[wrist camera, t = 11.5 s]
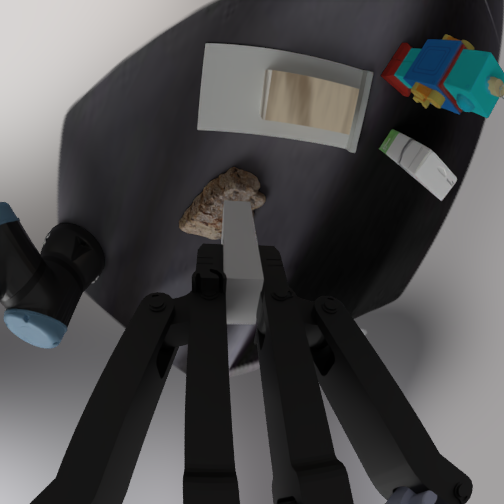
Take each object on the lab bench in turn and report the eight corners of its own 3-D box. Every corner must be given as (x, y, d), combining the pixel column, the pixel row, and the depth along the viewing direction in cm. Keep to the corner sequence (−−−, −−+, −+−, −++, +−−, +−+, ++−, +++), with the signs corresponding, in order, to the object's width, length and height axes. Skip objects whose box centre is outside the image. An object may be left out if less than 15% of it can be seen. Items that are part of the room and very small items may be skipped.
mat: (197, 129, 40) (195, 132, 38) (205, 43, 31) (204, 41, 30) (350, 149, 43) (355, 153, 41) (367, 72, 34) (373, 72, 33)
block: (262, 119, 34) (349, 134, 35) (270, 69, 29) (359, 89, 31) (259, 113, 38) (335, 125, 40) (265, 69, 34) (344, 85, 36)
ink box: (377, 148, 42) (412, 175, 33) (392, 127, 40) (431, 148, 31) (407, 173, 45) (442, 203, 36) (421, 153, 43) (459, 179, 33)
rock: (230, 155, 43) (229, 167, 38) (277, 192, 47) (282, 207, 43) (177, 219, 49) (171, 237, 45) (222, 248, 54) (221, 267, 49)
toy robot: (397, 102, 37) (508, 153, 17) (372, 80, 35) (485, 114, 15) (426, 57, 31) (541, 83, 11) (403, 34, 29) (520, 41, 9)
